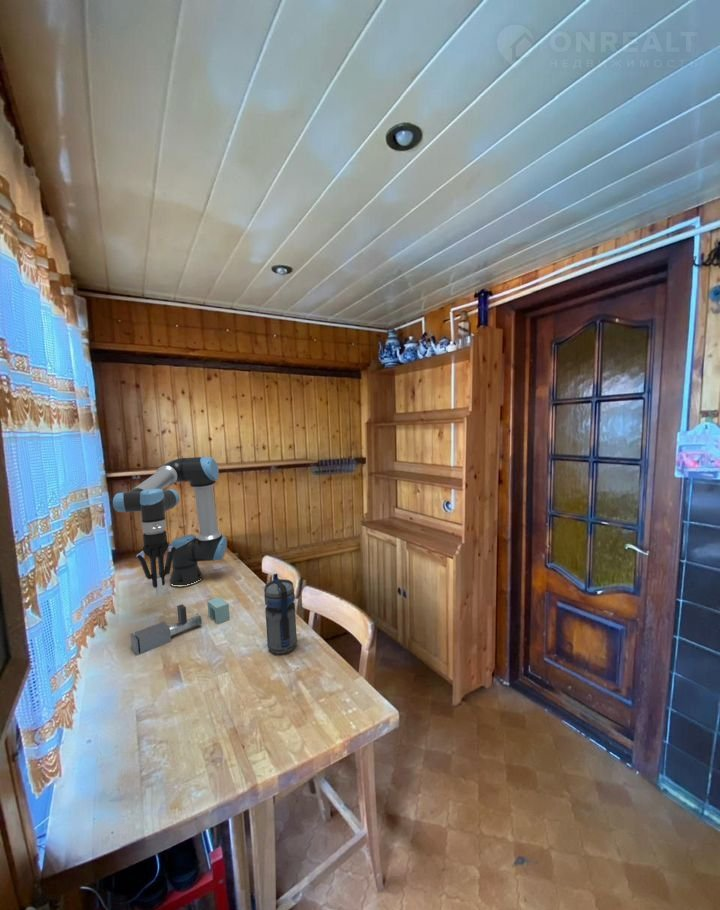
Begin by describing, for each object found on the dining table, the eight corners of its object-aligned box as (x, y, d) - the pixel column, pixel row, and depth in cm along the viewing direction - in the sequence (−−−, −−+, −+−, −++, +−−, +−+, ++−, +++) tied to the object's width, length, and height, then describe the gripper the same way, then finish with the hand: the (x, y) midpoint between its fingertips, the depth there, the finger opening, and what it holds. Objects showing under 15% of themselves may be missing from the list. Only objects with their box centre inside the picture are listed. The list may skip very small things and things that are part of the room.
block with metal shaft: (139, 650, 132) (136, 624, 131) (136, 646, 134) (134, 620, 134) (202, 625, 147) (200, 602, 146) (198, 622, 150) (196, 599, 149)
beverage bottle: (273, 663, 123) (268, 589, 121) (264, 643, 134) (260, 575, 132) (302, 654, 127) (299, 582, 125) (292, 635, 139) (288, 569, 137)
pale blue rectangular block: (217, 624, 149) (216, 608, 148) (208, 616, 155) (207, 601, 155) (229, 619, 152) (228, 603, 152) (220, 612, 159) (219, 596, 158)
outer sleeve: (136, 655, 130) (135, 641, 130) (131, 647, 135) (130, 633, 134) (171, 641, 138) (169, 627, 137) (165, 634, 142) (164, 621, 142)
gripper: (137, 537, 129) (142, 604, 130) (177, 529, 138) (181, 591, 139) (131, 534, 134) (136, 597, 136) (170, 526, 143) (174, 586, 145)
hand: (159, 594), depth 137 cm, fingers closed
